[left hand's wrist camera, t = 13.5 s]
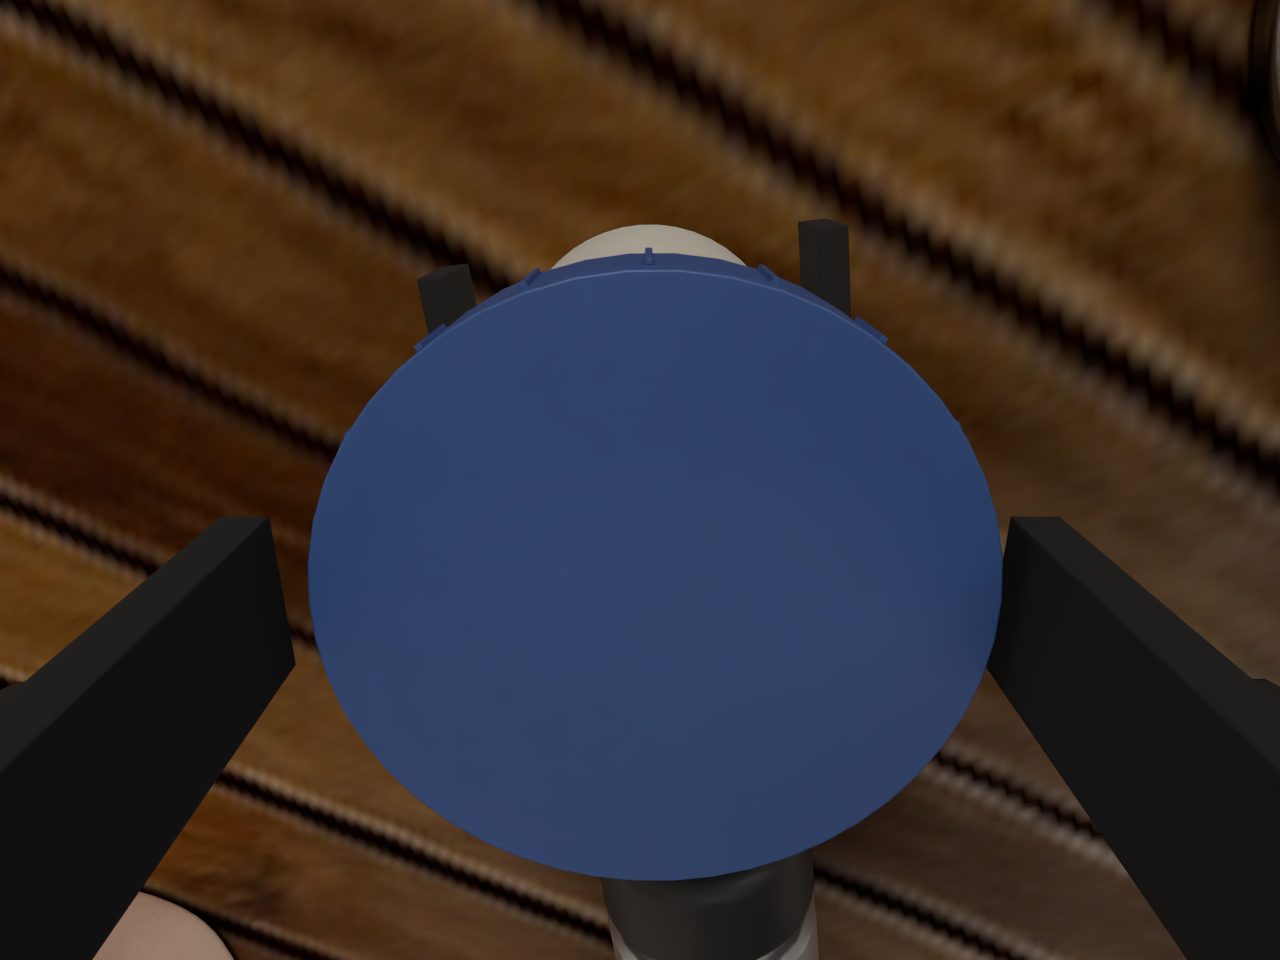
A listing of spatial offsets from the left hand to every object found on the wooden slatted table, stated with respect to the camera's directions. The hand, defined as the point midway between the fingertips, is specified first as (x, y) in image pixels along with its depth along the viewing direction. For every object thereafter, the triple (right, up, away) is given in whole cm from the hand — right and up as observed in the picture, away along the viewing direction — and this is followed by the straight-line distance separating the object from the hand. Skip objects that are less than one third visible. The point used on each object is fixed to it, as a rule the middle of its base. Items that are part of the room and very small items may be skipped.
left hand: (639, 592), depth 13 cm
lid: (0, 0, 0) cm, 1 cm away
